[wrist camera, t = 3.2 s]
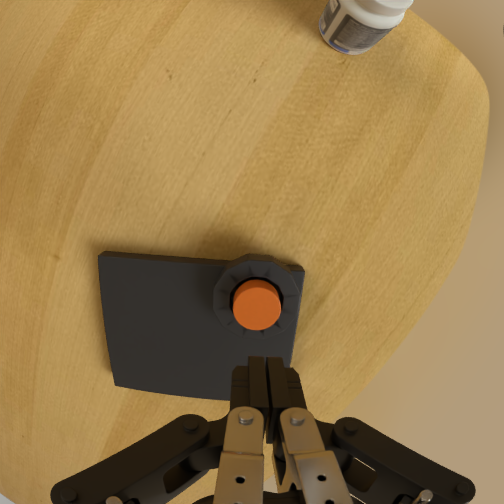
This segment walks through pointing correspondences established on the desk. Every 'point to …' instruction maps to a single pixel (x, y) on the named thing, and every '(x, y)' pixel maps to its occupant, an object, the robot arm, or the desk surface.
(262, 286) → the button
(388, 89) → the desk surface
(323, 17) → the pill bottle
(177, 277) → the black flat block
